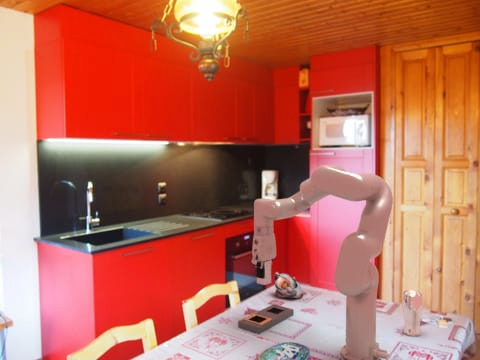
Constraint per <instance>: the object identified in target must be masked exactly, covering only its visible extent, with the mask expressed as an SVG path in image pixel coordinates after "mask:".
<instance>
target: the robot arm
mask: <svg viewBox="0 0 480 360" xmlns="http://www.w3.org/2000/svg"><path fill="white" fill-rule="evenodd" d="M330 195H331V196H333V197H336V198H339V199H343V200H345V201H350V202H363V201H365V205H364V208H363V209H362V212H361V215H360V220H359V224H358V228H357V230H356V231H355V232H352V233H350V234H348V235H346V237H345V238H344V239H343V241H342V243H341V246H340V249H339V252H338V258H337V262H336V267H335V271H334V277H333V278H334V279H333V280H334V281H333V282H334V286H335V287H336V290H337V291H338V292H339V293H340V294H342V295H343V296H345V297H346V298H345V345H343V346H342V347H341V348H340V354H341V356H342V357H343V359H346V360H381V359H383V360H388V359H389V355H390V354H389V353H388V350H387V349H383V348H380V344H379V342H377V334H376V333H377V299H378V298H377V296H378V289H379V281H380V280H379V279H380V274H379V270H378V268H377V267H376V265H375V264H374V263H373V262H372V261H370V260H373V259H375V258H377V257H379V255H381V253H382V251H383V248H384V242H385V238H386V235H387V231H388V226H389V221H390V218H391V213H392V210H393V209H392V208H393V203H394V201H393V200H394V199H393V197H394V196H393V192H392V189H391V187H390V185H389V184H388V183H387V182H386V181H385V180H384V179H383V178H382V177H381V176H379V175H377V174H373V173H351V172H348V171H346V170H345V168H344V167H342V166H340V165H337V164H325V165H324V164H322V165H318V166H317V167H316V168H314V169H313V171H312V172H311V175H310V177H309V178H307V179H305V180H304V181H302V182H301V183H300V184H299V191H297V192H296V193H295V194H293V195H291V196H290V197H288V198H281V199H279V198H278V199H270V198H257V199H255V200H254V203H253V239H252V248H251V249H252V253H251V254H252V259H251V263H252V264H253V265H254V266H255V268H256V279H257V278H261V279H263V278H264V268H263V261H266V260H271V267H272V265H273V261H274V259H275V258H276V257H277V244H276V243H277V242H276V235H275V233H274V221H278V220H283V219H289V218H290V219H291V218H293V217H295V216H297V215H299V214H301V213H303V212H306V210H308V209H310V208H311V207H312V206H313V205H314V204H315V203H317V202H319V201H321V200H323V199H324V198H326V197H328V196H330ZM259 262H260V263H259Z"/></svg>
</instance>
